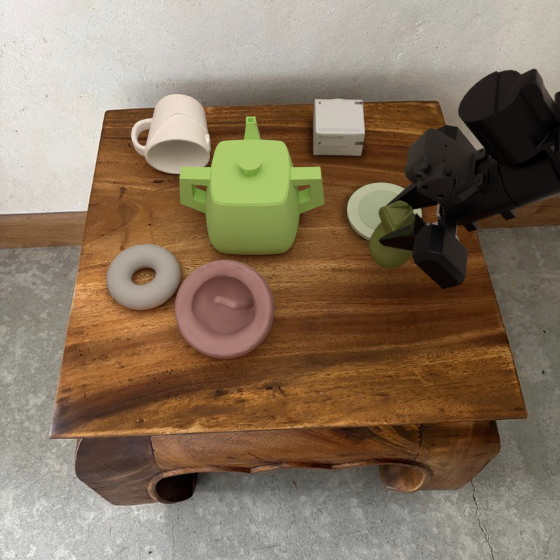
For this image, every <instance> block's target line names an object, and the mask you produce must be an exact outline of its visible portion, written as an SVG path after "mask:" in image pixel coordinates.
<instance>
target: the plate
mask: <svg viewBox="0 0 560 560" xmlns="http://www.w3.org/2000/svg"><path fill="white" fill-rule="evenodd" d="M404 189H405V188H404V187H402V186H400V185H397V184H395V183H389V182H372V183H368V184H364V185H363V186H361V187H359V188H358V189H357V190H356V191H354V192H353V193H352V194H351V196H350V198H349V199H348V201H347V205H346V218H347V222H348V223H349V225H350V227H351V229H352V230H353V231H354V232H355V233H356V234H357V235H359V236H360V237H361V238H362V239H365V240H367V241H368V242H369V241H370V238H371V236H372V234H373V232H374V230H375V229H376V227H377V226H378V225H379V224H380V222H381V220H380V217H379V209H380V208H381V207H383V206H386V205H387V204H388V203H389V202H390V201H391V200H393V199H394V198H395V197H396V196H397V195H398V194H399V193H401V192H402V191H403V190H404ZM413 212H414V214H416V213H417V214H418V215H419V216H420V217H421V218H422V219H423V211H422V208H420V209H415V210H413Z"/></svg>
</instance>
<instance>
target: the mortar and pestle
mask: <svg viewBox="0 0 560 560" xmlns="http://www.w3.org/2000/svg"><path fill="white" fill-rule="evenodd" d="M178 288H179V289H178V291H177V293H176V297H175V301H174V318H175V323H176V326H177V328H178V330H179V333H180V335H181V336H182V338H183V339H184V341H186V343H187V344H188V345H189V346H190V347H191V348H193V350H195V351H197V352H199V353H200V354H202V355H204V356H206V357H209V358H213V359H218V360H231V359H236V358H240V357H243V356H245V355H248V354H249V353H251V352H252V351H254V350H255V349H256V348H258V347H259V346H260V345H262V343H263V342H264V341H265V340H266V338H267V336H268V335H269V333H270V331H271V329H272V326H273V323H274V319H275V312H276V307H275V306H276V305H275V297H274V294H273V291H272V289H271V287H270V286H269V283H268V281H267V280H266V279H265V277H263V275H262V274H261V273H260V272H259V271H257V270H256V269H255V268H253V267H252V266H250V265H249V264H247V263H244V262H242V261H238V260H234V259H217V260H216V259H215V260H212V261H209V262H206V263H203V264H201V265H199V266H198V267H197V268H195V269H194V270H192V271H191V272H190V273H189V274H188V275H187V276H186V278H185V279H184V280H183V281H182V282H181V285H180V286H179V287H178Z"/></svg>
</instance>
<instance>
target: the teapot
mask: <svg viewBox="0 0 560 560" xmlns="http://www.w3.org/2000/svg"><path fill="white" fill-rule="evenodd" d="M260 133H261V132H260V130H259V125H258V122H257V117H256V116H245V131H244V137H243V139H231V140H230V139H229V140H222V141H220V142H219V143H218V144H217V145H216V147H215V150H214V152H213V156H212V157H213V158H212V160H211V164H210V166H205V167H181V172H180V174H179V180H178V181H179V182H178V183H179V204H180V205H182V206H185V207H187V208H190V209H193V210H196V211H199V212H201V213H203V214H205V222H206V229H207V235H208V239H209V241H210V243H211V245H212V247H214V249H215V250H216V251H218V252H219V253H222V254H226V255H242V256H244V255H245V256H246V255H247V256H262V255H263V256H265V255H278V254H279V255H280V254H285V253H286V252H287V251H289V250H290V249H291V247H292V246H293V244H294V242H295V240H296V236H297V233H298V228H299V223H300V216H301V214H303V213H305V212H309V211H311V210H313V209H315V208H318V207H321V206H323V205H325V193H324V185H323V177H322V169H321V166H297V167H296V166H295V167H294V163H293V161H292V157H291V154H290V152H289V149H288V147H287V145H286V143H285V142H284V141H281V140H276V139H262V137H261V134H260ZM196 186H205V187H206V189H205V190H202V189H200V188H198V187H196ZM299 186H309V187H308V188H306V189H303V190H300V191H299Z"/></svg>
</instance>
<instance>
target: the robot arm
mask: <svg viewBox="0 0 560 560" xmlns="http://www.w3.org/2000/svg"><path fill="white" fill-rule="evenodd" d="M553 98H554V99H553ZM457 114H458V117H459V119H460V120H461V121H462V122H463V123H464V125H465V126H466V128H467V129H468V130H469V131H470V132H471V134H472V135H473V136H474V137H475V138H476V140H477V142H478V143H479V144H480V145H481V148H480V149H476V147H475V146H474V145H473V144H472V142H471V141H470V140H469V139H468V137H467V136H466V135H465V133H463V131H462V130H461V129H460V128H459V127H458V126H457V125H455V126H454V125H449V124H445V125H442V126H441V127H439V128H434V127H429V128H427V129H426V130H425V131H424V132H423V133H422V134H421V135H420V136H419V137H418V138H417V139H416V140H415V141H414V142H413V143H412V144H411V145H410V146H409V147H408V149H407V158H406V164H405V167H404V171H403V172H404V176H405V178H407V180H408V181H409V182H411V183H410V184H408V185H407V186H406V187H405V188H404V190H403V191H402V192H401V193H399V194H398V195H397V196H396V197H395V198H394V199H393V200H391V201H390V202H389V203H388V204H387V205H390V204H392V203H394V202H396V201H403V202H406V203H407V204H408V205H409V206H411V207H412V209H413V210H415V209H420V208H421V209H424V208H429V207H430V208H431V207H436V212H435V215H436V218H437V221H434V222H426V221H425V220H424V219H423V217H422V218H421V217H420V216H419V215H418V214H417V213H416V214H415V215H414V218H413V221H412V224H411V225H408V226H406V227H403V228H401V229H398V230H396V231H394V232H391V233H389V234H387V235H385V236H383V237H381V238H379V243H380V244H381V245H383V246H386V247H392V248H398V249H403V250H409V251H413V254H412V256H411V258H412V260H413V262H414V265H415V266H416V267H418V268H419V269H420V270H421V271H422V272H423V273H424V274H426V276H427V277H429V278H430V280H432V281H433V282H434V283H435V284H436V285H437V286H438V287H440V288H441V289H442V290H447V289H450V288H455V287H458V286H460V285H463V283H464V282H465V279H466V277H467V268H468V258H469V250H468V248H467V247H466V246H465V245H464V244H463V243H462V241H460V239H459V237H458V234H457V233H458V227H460V226H462V227H463V228H464V229H465V230H466V231H467V232H468V233H471V232H475V231H477V230H479V229H478V228H479V221H482V220H484V219H488V218H491V217H494V216H497V215H500V216H501V217H502V218H503V219H504V220H505V222H506V221H509V220H513V219H515V218H516V217H517V209H519V208H522V207H525V206H528V205H532V204H535V203H539V202H541V201H543V200H544V201H545V200H548V199H551V198H554V197H556V196H559V195H560V90H559V91H556V92H555V93H554V96H553V97H552V96H551V94H550V93H549V91H548V89H547V88H546V87H545V83H544V80H543V76H542V75H541V74H540V72H539V71H538V69H536V68H531V69H529V70H527V71H525V72H523V73H521V72H519V71H517V70H514V69H507V70H506V69H505V70H501V71H497V70H495V71H492V72H491V73H489V74H487V75H486V76H483V77H482V78H480V79H479V80H478V81H476V82H475V83H474V85H472V87H470V88H469V89H468V90H467V92H466V93H465V94H464V95H463V97H462V98H461V101H460V102H459V104H458V108H457ZM387 205H386V206H387Z"/></svg>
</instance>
